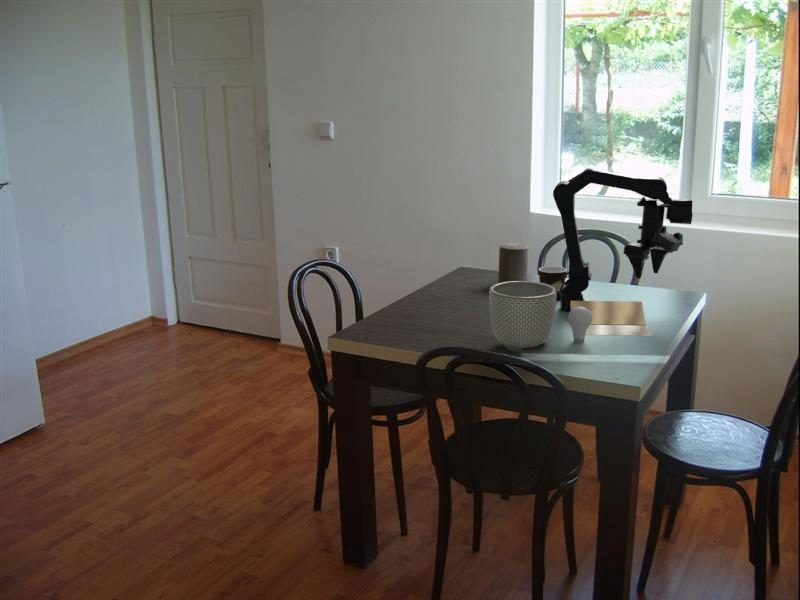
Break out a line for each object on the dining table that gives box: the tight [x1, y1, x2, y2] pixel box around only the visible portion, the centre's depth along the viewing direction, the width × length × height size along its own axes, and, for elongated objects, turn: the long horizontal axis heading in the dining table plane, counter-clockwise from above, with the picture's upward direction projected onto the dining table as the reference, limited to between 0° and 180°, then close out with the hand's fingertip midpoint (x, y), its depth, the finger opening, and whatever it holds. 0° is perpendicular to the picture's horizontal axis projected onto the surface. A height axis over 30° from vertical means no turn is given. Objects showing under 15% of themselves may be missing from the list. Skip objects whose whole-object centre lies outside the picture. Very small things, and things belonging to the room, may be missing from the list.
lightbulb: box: [567, 307, 592, 344], centre depth 215 cm, size 6×6×11 cm
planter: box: [488, 280, 557, 353], centre depth 215 cm, size 17×17×16 cm
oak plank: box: [570, 300, 647, 326], centre depth 233 cm, size 20×9×1 cm
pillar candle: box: [497, 241, 530, 284], centre depth 276 cm, size 10×10×15 cm
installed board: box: [585, 325, 653, 337], centre depth 225 cm, size 20×9×2 cm, turn 84°
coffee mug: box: [538, 266, 569, 302], centre depth 258 cm, size 12×9×10 cm
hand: (647, 275), depth 236 cm, fingers open, 9 cm apart
